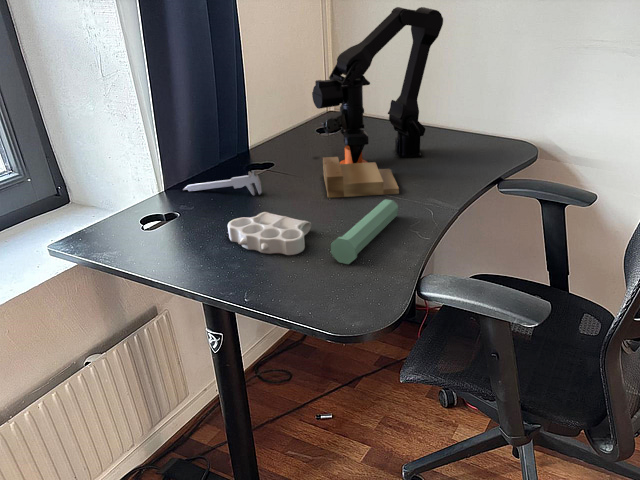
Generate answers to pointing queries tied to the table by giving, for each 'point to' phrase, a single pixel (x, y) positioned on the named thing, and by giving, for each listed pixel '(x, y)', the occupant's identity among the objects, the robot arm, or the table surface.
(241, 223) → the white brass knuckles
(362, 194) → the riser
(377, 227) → the mint green bar
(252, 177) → the caliper
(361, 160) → the hat
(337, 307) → the table surface
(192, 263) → the table surface
